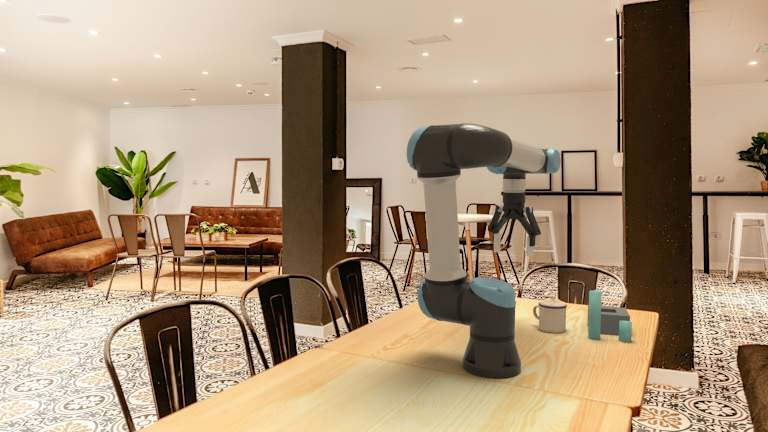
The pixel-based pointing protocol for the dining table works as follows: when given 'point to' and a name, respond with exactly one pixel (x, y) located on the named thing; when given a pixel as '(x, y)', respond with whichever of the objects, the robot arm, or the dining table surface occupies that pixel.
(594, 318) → the long pin
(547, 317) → the teacup with lid
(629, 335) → the short pin
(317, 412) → the dining table surface
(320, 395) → the dining table surface
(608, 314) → the hole block
